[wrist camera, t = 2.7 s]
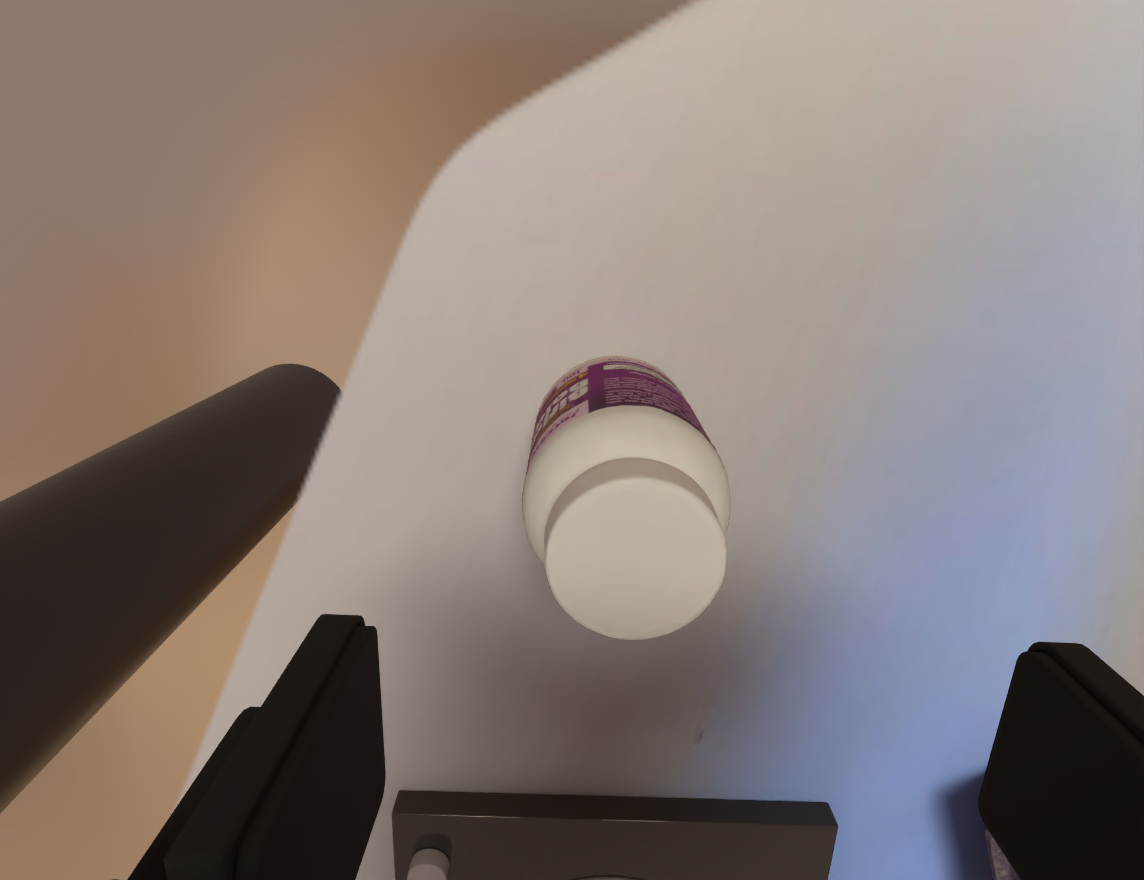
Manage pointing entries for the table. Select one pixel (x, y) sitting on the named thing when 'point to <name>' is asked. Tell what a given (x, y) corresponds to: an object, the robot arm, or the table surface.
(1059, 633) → the table surface
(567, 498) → the pill bottle
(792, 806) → the hob
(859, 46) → the table surface
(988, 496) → the table surface
